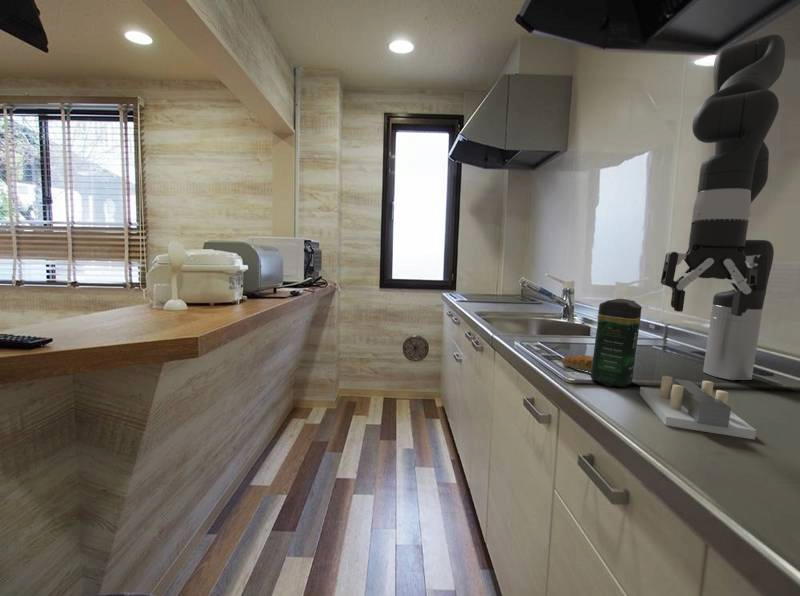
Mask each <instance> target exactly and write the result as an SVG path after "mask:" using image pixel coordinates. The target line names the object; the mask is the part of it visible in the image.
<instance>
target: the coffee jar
mask: <svg viewBox="0 0 800 596" xmlns="http://www.w3.org/2000/svg"><path fill="white" fill-rule="evenodd" d="M642 310H643V309H642V306H641V304H639V303H637V302H636V301H635V300H631V299H626V298H615V299H611V300H609V299H608V300H606V301H603V302H601V303H599V306H598V313H597V322H596V333H595V340H594V349H593V354H592V355H593V356H592V357H593V362H592V368H591V374H590V379H591V380H593V379H594V380H593V381H595V380H597V381H596V382H598V381H599V382H598V383H600V382H601V383H603V384H602V385H604V384H605V385H604V386H608V387H612V386H616V387H621V388H622V387H623V388H624V387H627V386H629V385H631V383H632V382H633V378H634V369H635V362H636V354H637V346H638V341H639V340H638V339H639V332H640V331H639V330H640V323H641V319H642V318H641V317H642ZM601 383H600V384H601Z"/></svg>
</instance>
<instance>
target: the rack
mask: <svg viewBox="0 0 800 596" xmlns="http://www.w3.org/2000/svg"><path fill="white" fill-rule="evenodd" d="M660 382H661V383H660V389H659V388H652V387H647V386H646V387H643V386H640V387H639V395H640V397H641V398H642V399H643V400H644V401H645V402H646V404H647V405H648V406H649V408H650V409H651V410H652V411H653V412H654V413H655V415H656V417H658V418H659V420H660V421H661V422H662V423H663V424H664V426H668V427H673V428H679V429H685V430H686V429H687V430H693V431H698V432H705V433H706V432H707V433H712V434H715V435H716V434H718V435H723V436H729V437H734V438H735V437H737V438H742V439H749V440H756V434H757V429H755V428H754V427H752V426H751V425H749V424H748V423H747V422H746V421H745V420H743V419H742V418H741V417H739V415H736V414H735V413H734V412H733V411H731V412H730V418H729V425H728V428H726V427H719V426H713V425H706V424H700V423H697V422H696V421H695V420H694V419H693V418H692V417H691V416H690V415H689V414H688V410H687V409H686V408H685V407H684V406H683V405H682V397H683V390H684V387H683V386H681V385H673V377H672V376H669V375H662V377H661V381H660ZM701 382H702V383H701V389H702V390H704V391H705V392H706V393H708V394H709V395H710V396H712V397H713V392H714V391H713V390H714V383H715V382H713V381H710V380H702V381H701ZM714 399H719V400H721V401H722V402H723V403H725V404H726V405H727V406H728V401H729V392H728V391H725V390H722V389H721V390H720V389H717V390H716V392H715V397H714Z"/></svg>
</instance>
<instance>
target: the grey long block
mask: <svg viewBox="0 0 800 596" xmlns="http://www.w3.org/2000/svg"><path fill="white" fill-rule="evenodd" d="M673 385H681V386H683V387H684V390H683V397H682V405H683V406H684V407H685V408H686V409H687V410H688V414H689V415H690V416H691V417H692V418H693V419H694V420H695V421H696V422H697V423H700V424H706V425H713V426H719V427H726V428H728V425H729V418H730V412H732V408H731V407H730V406H729V405H728V404H727V405H726V404H725V403H723V402H722V401H721V400H719V399H715V397H713V395H712V396H710V395H709V394H708V393H706V392H705V391H704V390H702V387H699V386H698V385H697V384H695V383H694V382H693V381H691V380H687V379H686V380H684V379H677V378H673V379H672V386H673Z"/></svg>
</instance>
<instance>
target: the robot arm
mask: <svg viewBox="0 0 800 596" xmlns="http://www.w3.org/2000/svg"><path fill="white" fill-rule="evenodd" d="M785 57H786V44H785V40H784V38H783V37H782V36H781V35H780V34H767V35H763V36H760V37H758V38H754V39H751V40H748V41H746V42H745V41H744V42H742V43H738V44H735V45H732V46H728V47H726V48H723V49H721V50H720V51H718V53H717V54H716V56H715V59H714V63H713V94H712V95H710V96H708V97H707V98H706V99H705V100H704V101H703V102H702V103H701V104H700V105H699V107H698V109H697V110H696V112H695V114H694V116H693V120H692V125H691V126H692V133H693V135H694V137H695V138H696V139H697V140H698V141H700V142H702V143H705V144H708V143H709V144H712V143H715V145H714V146H715V147H714V148H715V150H714V155H713V156H712V155H711V156H709V157H708V158H706V159H704V160H703V161H702V163H701V165H700V170H699V179H698V185H697V192H696V193H697V194H696V197H695V201H694V204H693V209H692V217H691V218H692V219H691V224H690V233H689V239H688V240H689V241H688V249H687V251H686V252H685V253H681V252H677V251H668V252H667V253H666V254H665V257H664V262H663V268H662V274H661V278H660V283H661V285H662V286H665V287H669V288H670V289H671V291H672V293H671V299H670V300H671V301H670V306H671V308H673V310H674V311H675V312H680V313H682V312H683V310H684V303H685V296H686V290H685V288H686V287H688V286H689V285H690V284H691V283H692V282H694V281H695V280H697V279H698V278H699V279H717V280H725V281H726V282H727V283H728V284H730V286H731V287H732V288H733V289H731V290H727V291H720V292H716V293H715V294H714V295H713V299H712V305H711V313H710V321H709V328H708V335H707V342H706V348H705V349H706V350H705V356H704V362H703V363H704V364H703V368H702V371H703V373H705V374H707V375H709V376H712V377H715V378H720V379H724V380H729V381H735V380H751V381H752V378H753V372H754V366H755V363H756V362H755V360H756V354H757V347H758V341H759V335H760V329H761V321H762V316H763V308H764V305H765V298H766V294H767V288H768V283H769V279H770V278H769V277H770V273H771V270H772V266H773V261H774V256H775V255H774V250H775V249H774V245H773V243H772V242H770V241H769V240H768V239H767V240H765V239H747V233H748V228H749V226H748V225H749V221H750V220H749V219H750V217H751V206H752V203H753V201H754V200H755V199H756V198H757V197H758V196H759V194H760V193H761V192H762V190H763V189H764V188H765V185H766V184H767V181H768V177H769V160H770V159H769V157H770V151H769V148H768V146H767V144H766V143H765V139H766V137H767V135H768V134H769V131H770V130H771V127H772V126H773V124H774V122H775V119H776V117H777V115H778V112H779V109H780V108H779V107H780V106H779V105H780V103H779V99H778V97H777V95H776V94H775V93H774V92H773V91H771V90H769V89H771V87H772V86H773V85H774V84H775V83H776V81H778V80H779V78H780V77H781V75H782V73H783V70H784V65H785V62H786V61H785V59H786V58H785ZM683 260H684V262H685V263H686V265H687V266H688V268H687V269H685V270H684V271H683V273H681V274H680V276H679V277H678V278H677V279H676V280H674V279H675V274H676V270H677V269H676V268H677V266H678V265H680V264H681V263H682V261H683Z"/></svg>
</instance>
